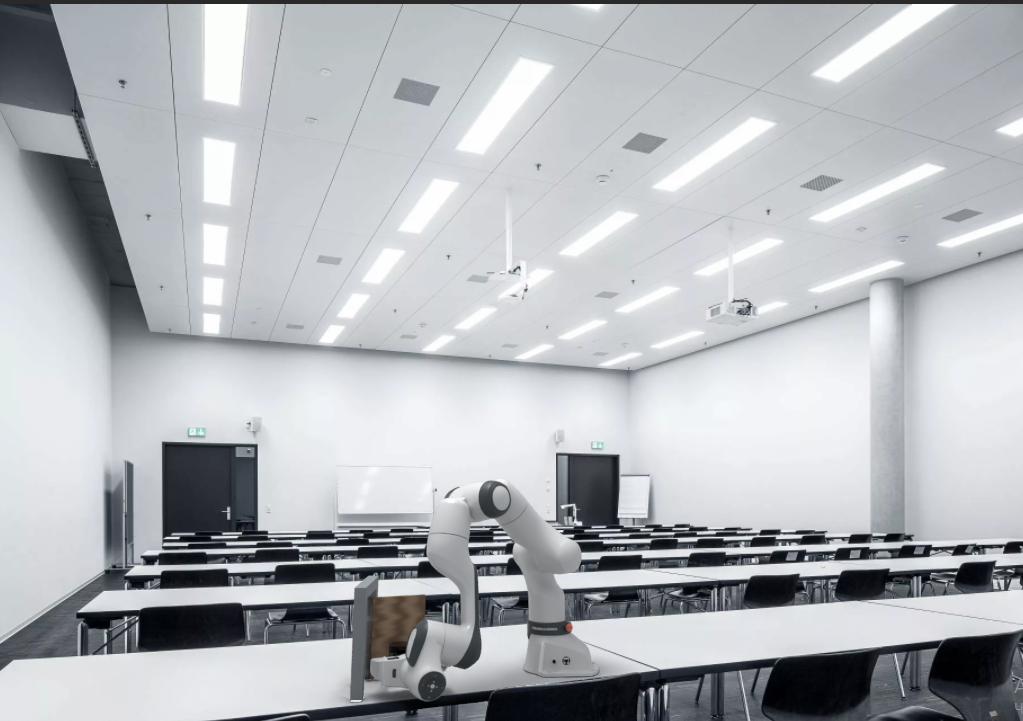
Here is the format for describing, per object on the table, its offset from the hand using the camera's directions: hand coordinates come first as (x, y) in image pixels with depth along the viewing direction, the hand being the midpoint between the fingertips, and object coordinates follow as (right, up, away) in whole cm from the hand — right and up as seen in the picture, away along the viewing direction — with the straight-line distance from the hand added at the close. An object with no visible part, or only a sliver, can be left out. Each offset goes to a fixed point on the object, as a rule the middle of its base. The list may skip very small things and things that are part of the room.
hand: (402, 657), depth 190 cm
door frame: (-10, -6, -5) cm, 13 cm away
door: (-3, -8, +5) cm, 9 cm away
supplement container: (-1, -8, 0) cm, 8 cm away
